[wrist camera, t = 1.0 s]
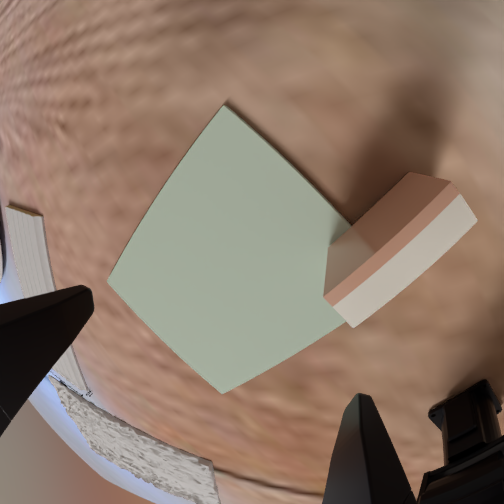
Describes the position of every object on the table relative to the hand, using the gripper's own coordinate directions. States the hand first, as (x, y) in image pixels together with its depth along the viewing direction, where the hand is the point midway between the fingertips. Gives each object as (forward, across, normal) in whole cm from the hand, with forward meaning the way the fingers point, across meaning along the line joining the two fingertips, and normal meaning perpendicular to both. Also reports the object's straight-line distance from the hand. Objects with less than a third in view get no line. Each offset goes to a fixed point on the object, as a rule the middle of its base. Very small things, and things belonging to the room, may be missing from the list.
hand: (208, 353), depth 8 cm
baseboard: (+14, +30, +23) cm, 41 cm away
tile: (+12, -6, -2) cm, 13 cm away
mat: (+13, +4, +6) cm, 15 cm away
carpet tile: (+13, +17, +57) cm, 61 cm away
